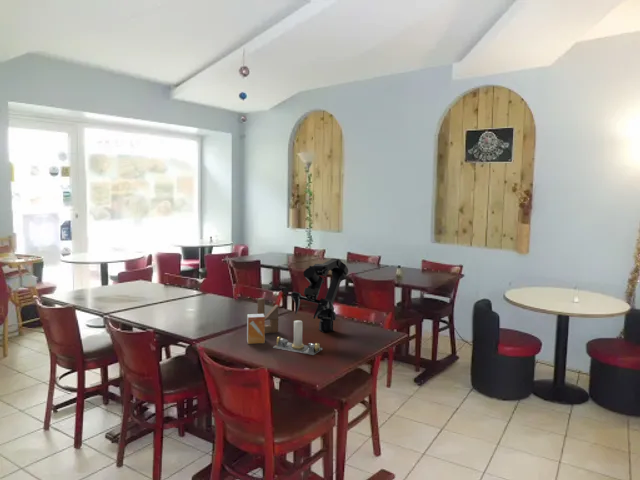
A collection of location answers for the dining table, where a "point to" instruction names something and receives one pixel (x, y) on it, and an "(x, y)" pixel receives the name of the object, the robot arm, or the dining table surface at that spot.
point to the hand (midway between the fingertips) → (304, 316)
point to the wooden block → (269, 316)
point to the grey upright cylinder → (297, 335)
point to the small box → (255, 328)
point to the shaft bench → (309, 349)
